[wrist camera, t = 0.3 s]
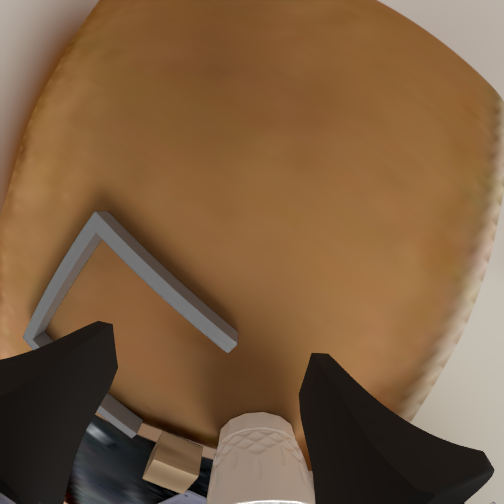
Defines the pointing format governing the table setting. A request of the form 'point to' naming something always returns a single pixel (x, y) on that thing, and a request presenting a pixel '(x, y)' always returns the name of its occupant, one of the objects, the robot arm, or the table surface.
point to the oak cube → (174, 463)
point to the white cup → (259, 463)
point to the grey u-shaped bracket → (150, 272)
